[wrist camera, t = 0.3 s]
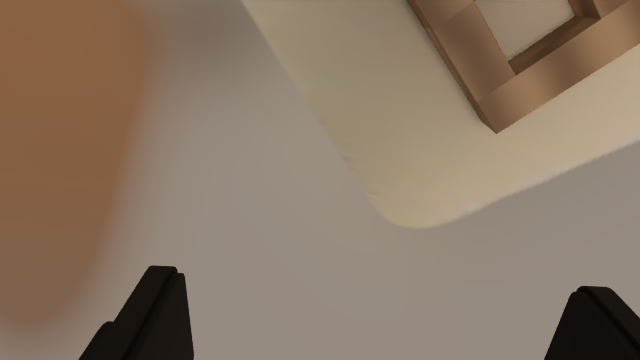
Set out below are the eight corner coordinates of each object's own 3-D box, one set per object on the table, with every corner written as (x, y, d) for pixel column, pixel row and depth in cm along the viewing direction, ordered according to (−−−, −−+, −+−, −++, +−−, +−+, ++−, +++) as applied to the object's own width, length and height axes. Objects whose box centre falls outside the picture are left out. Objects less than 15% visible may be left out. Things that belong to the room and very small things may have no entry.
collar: (564, -140, 29) (594, -156, 26) (632, 24, 34) (663, 28, 31) (400, -10, 33) (409, -9, 30) (482, 121, 38) (496, 134, 34)
